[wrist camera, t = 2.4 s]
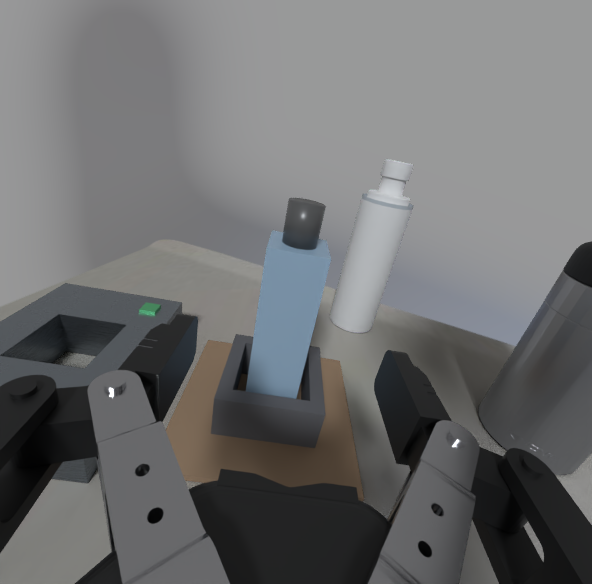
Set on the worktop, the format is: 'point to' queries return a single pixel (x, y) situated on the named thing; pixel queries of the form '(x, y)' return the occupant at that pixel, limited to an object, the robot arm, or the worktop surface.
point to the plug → (289, 301)
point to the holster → (264, 423)
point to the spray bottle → (372, 250)
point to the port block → (78, 341)
